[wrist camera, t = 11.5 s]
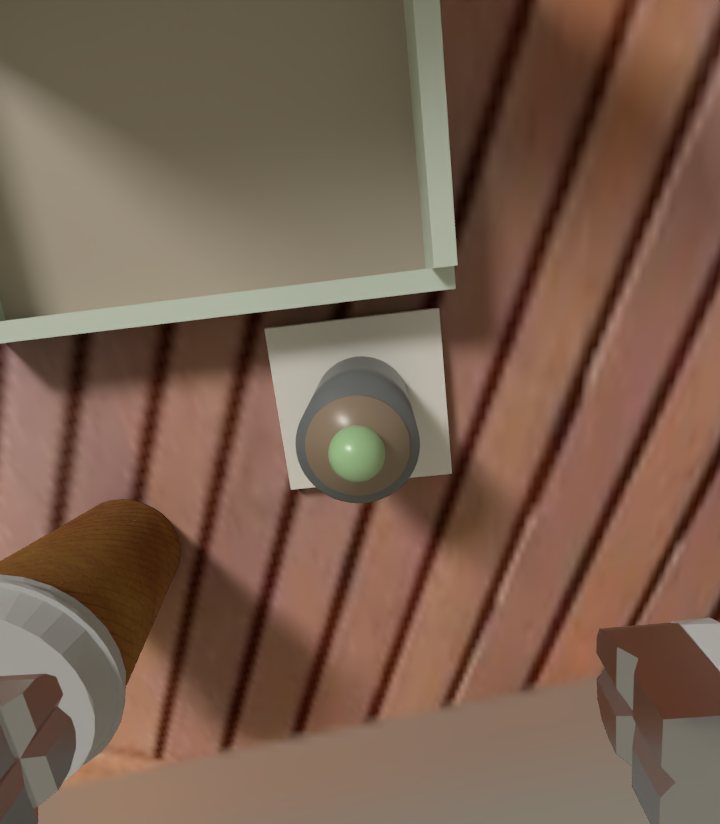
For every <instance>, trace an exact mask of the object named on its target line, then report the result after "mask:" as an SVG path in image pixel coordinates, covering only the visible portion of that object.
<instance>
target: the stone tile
mask: <svg viewBox="0 0 720 824" xmlns="http://www.w3.org/2000/svg"><path fill="white" fill-rule="evenodd" d="M264 331H265V337H266V343H267V349H268V355H269V361H270V367H271V373H272V379H273V385H274V391H275V397H276V403H277V409H278V415H279V421H280V427H281V433H282V439H283V445H284V451H285V457H286V463H287V469H288V475H289V481H290V487H291V490H293V489H303V488H313V487H315V486H314V485H313V484H312V483H311V482H310V481H309V480H308V478H307V477H306V475H305V474H304V472H303V470H302V469H301V467H300V464H299V461H298V458H297V454H296V445H295V444H296V433H297V429H298V426H299V423H300V420H301V418H302V416H303V414H304V412H305V410H306V408H307V406H308V404H309V402H310V400H311V398H312V396H313V394H314V392H315V390H316V388H317V386H318V384H319V382H320V380H321V379H322V377H323V376H324V374H325V373H326V372H327V371H328V370H329V369H330V368H331V367H332V366H334V365H335V364H337V363H338V362H340V361H342V360H345V359H348V358H351V357H359V356H365V357H372V358H376V359H379V360H381V361H383V362H385V363H387V364H388V365H390V366H391V367H392V368H394V369H395V370H396V371H397V372H398V374H399V375H400V376H401V378H402V379H403V381H404V383H405V385H406V388H407V391H408V395H409V398H410V402H411V406H412V409H413V413H414V417H415V420H416V424H417V428H418V431H419V437H420V452H419V457H418V461H417V464H416V466H415V469H414V471H413V473H412V474H411V476H410V477H409V478H414V477H424V476H434V475H445V474H452V467H451V454H450V441H449V428H448V415H447V402H446V389H445V377H444V364H443V351H442V338H441V325H440V312H439V308H438V307H436V308H427V309H419V310H410V311H402V312H393V313H385V314H376V315H368V316H360V317H351V318H343V319H334V320H326V321H317V322H309V323H300V324H292V325H284V326H275V327H267V328H265V329H264Z"/></svg>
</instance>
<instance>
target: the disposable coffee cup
mask: <svg viewBox="0 0 720 824" xmlns="http://www.w3.org/2000/svg"><path fill="white" fill-rule="evenodd" d="M179 560H180V544H179V540H178V537H177V535H176V533H175V530H174V528H173V527H172V525H171V524H170V523H169V521H168V520H167V519H166V518H165V517H164V516H163V515H162V514H161V513H159V512H158V511H156V510H155V509H153V508H152V507H150V506H148V505H145V504H143V503H140V502H137V501H133V500H124V499H120V500H111V501H107V502H104V503H101V504H99V505H97V506H95V507H94V508H92V509H91V510H89V511H87V512H85V513H84V514H82V515H80V516H78V517H77V518H75V519H73V520H72V521H70V522H68V523H66V524H65V525H63V526H61V527H60V528H58V529H56V530H54V531H53V532H51V533H49V534H47V535H46V536H44V537H42V538H40V539H38V540H37V541H35V542H33V543H31V544H30V545H28V546H26V547H25V548H23V549H21V550H19V551H18V552H16V553H14V554H12V555H11V556H9V557H7V558H5V559H3V560H2V561H0V676H9V675H27V674H45V673H46V674H49V675H52V676H56V677H57V680H58V682H59V685H60V687H61V690H62V692H63V696H62V698H61V701H60V703H59V705H58V707H59V708H60V709H61V710H62V711H64V712H65V713H66V714H67V715H68V716H70V717H71V718H72V721H73V725H74V728H75V731H76V750H75V754H74V757H73V761H72V764H71V768H70V771H69V773H68V774H67V776H66V778H65V779H64V781H66V780H67V779H68V778H69V777H70V776H72V775H73V774H74V773H75V772H76V771H77V770H78V769H79V768H80V767H81V766H82V765H83V764H85V763H87V762H88V761H90V760H91V759H92V758H94V757H95V756H96V755H98V754H99V753H100V752H101V751H102V750H103V749H104V748H105V747H106V746H107V745H108V743H109V742H110V741H111V739H112V737H113V736H114V734H115V732H116V731H117V729H118V727H119V724H120V722H121V718H122V714H123V710H124V705H125V689H126V685H127V683H128V681H129V679H130V676H131V674H132V672H133V670H134V667H135V664H136V662H137V660H138V658H139V655H140V653H141V651H142V649H143V647H144V644H145V641H146V639H147V637H148V634H149V632H150V630H151V627H152V625H153V623H154V621H155V618H156V616H157V614H158V611H159V609H160V607H161V604H162V602H163V600H164V597H165V595H166V593H167V590H168V588H169V586H170V583H171V581H172V579H173V576H174V574H175V572H176V570H177V568H178V566H179ZM64 781H63V782H64Z"/></svg>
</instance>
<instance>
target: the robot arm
mask: <svg viewBox="0 0 720 824" xmlns="http://www.w3.org/2000/svg"><path fill="white" fill-rule="evenodd" d="M596 653H597V655H598V656H599V658H600V660H601V662H602V664H603V665H604V667H605V669H604V670H603V671H602V673H601V674H600V675H599V676H598V678H597V699H598V704H599V708H600V713H601V717H602V722H603V724H604V727H605V730H606V733H607V735H608V738H609V740H610V742H611V744H612V746H613V748H614V751H615V753H616V754H617V755H618V756H619V757H620V758H622V759H623V760H625V761H626V762H627V763H628V764H630V765H631V766H632V788H633V790H634V791H635V794H636V796H637V798H638V800H639V802H640V804H641V806H642V808H643V809H644V812H645V814H646V816H647V818H648V820H649V822H650V824H720V623H719V622H718V621H716V620H714V619H712V618H701V619H691V620H682V621H673V622H672V623H660V624H648V625H637V626H626V627H614V628H603V629H599V631H598V635H597V649H596ZM62 696H63V692H62V690H61V687H60V685H59V682H58V680H57V677H56V676H52V675H49V674H46V673H45V674H27V675H9V676H0V824H38V807H39V805H41V804H42V803H43V802H45V801H46V800H47V799H48V798H49V797H51V796H52V795H53V794H54V793H56V792H57V791H58V790H59V788H60V786H61V785H62V783H63V781H64V779H65V778H66V776H67V774H68V773H69V771H70V768H71V764H72V761H73V757H74V754H75V750H76V731H75V728H74V725H73V721H72V718H71V717H70V716H68V715H67V714H66V713H65V712H64V711H62V710H61V709H60V708H59V707H58V705H59V703H60V701H61V698H62Z"/></svg>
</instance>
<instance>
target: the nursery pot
mask: <svg viewBox="0 0 720 824" xmlns="http://www.w3.org/2000/svg"><path fill="white" fill-rule="evenodd" d="M295 445H296V454H297V458H298V461H299V464H300V467H301V469H302V470H303V472H304V474H305V475H306V477H307V478H308V480H309V481H310V482H311V483H312V484H313V485H314V486H315V487H316V488H317V489H319V490H320V491H321V492H323V493H324V494H326V495H328V496H330V497H332V498H334V499H337V500H340V501H345V502H350V503H367V502H373V501H376V500H380V499H382V498H385V497H387V496H389V495H390V494H392V493H394V492H395V491H397V490H398V489H399V488H400V487H401V486H402V485H403V484H404V483H405V482H406V481H407V480H408V479H409V477H410V476H411V474H412V473H413V471H414V469H415V466H416V464H417V461H418V457H419V452H420V437H419V431H418V428H417V424H416V420H415V417H414V413H413V409H412V406H411V402H410V398H409V395H408V391H407V388H406V385H405V383H404V381H403V379H402V378H401V376H400V375H399V374H398V372H397V371H396V370H395V369H394V368H392V367H391V366H390V365H388V364H387V363H385V362H383V361H381V360H379V359H376V358H372V357H365V356H359V357H351V358H348V359H345V360H342V361H340V362H338V363H337V364H335V365H334V366H332V367H331V368H330V369H329V370H328V371H327V372H326V373H325V374H324V376H323V377H322V379H321V380H320V382H319V384H318V386H317V388H316V390H315V392H314V394H313V396H312V398H311V400H310V402H309V404H308V406H307V408H306V410H305V412H304V414H303V416H302V418H301V420H300V423H299V426H298V429H297V433H296V444H295Z"/></svg>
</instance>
